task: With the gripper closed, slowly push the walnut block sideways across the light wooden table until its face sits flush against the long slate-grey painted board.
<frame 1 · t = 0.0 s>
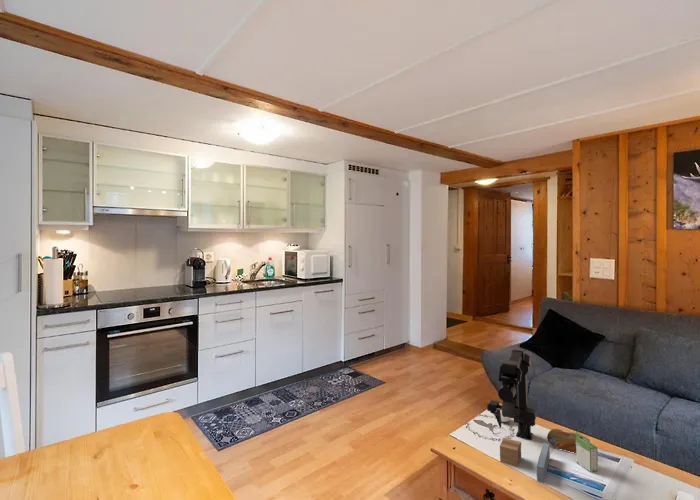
hand: (511, 430, 154), 15 cm above the table, tool pointing down, fingers open, 9 cm apart
tin: (566, 450, 163), on the table
ink box: (587, 467, 151), on the table
geometric ball: (502, 421, 192), on the table
slate board: (543, 468, 150), on the table
walnut block: (510, 459, 157), on the table
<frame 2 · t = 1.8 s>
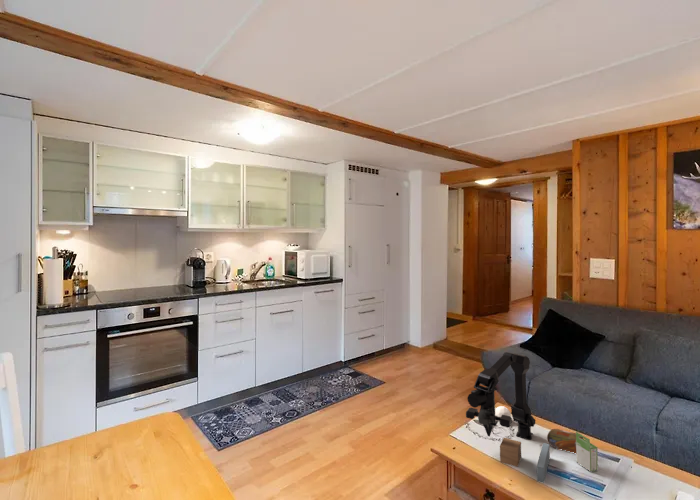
hand: (489, 436, 162), 8 cm above the table, tool pointing down, fingers closed
nothing on the table moved.
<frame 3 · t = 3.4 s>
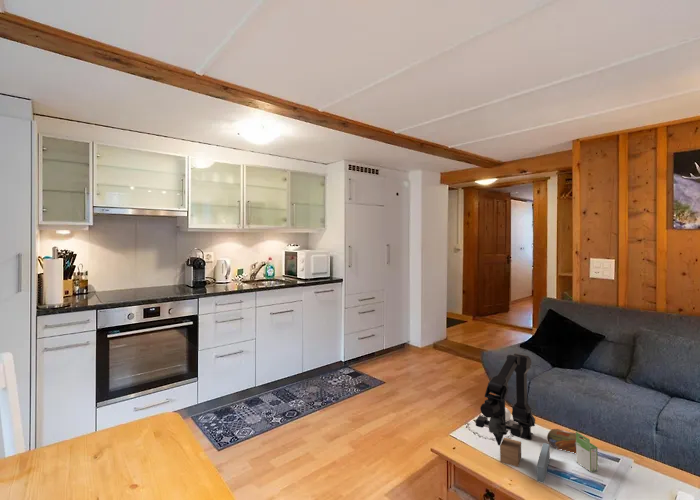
hand: (499, 445, 160), 5 cm above the table, tool pointing down, fingers closed
walnut block: (511, 459, 157), on the table, touching gripper
everything else where it was.
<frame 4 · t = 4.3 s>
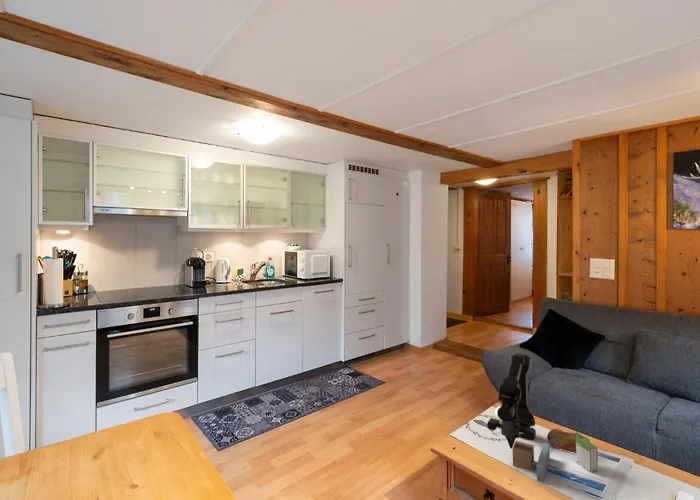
hand: (511, 448, 157), 5 cm above the table, tool pointing down, fingers closed
walnut block: (523, 463, 154), on the table, touching gripper
everything else where it was.
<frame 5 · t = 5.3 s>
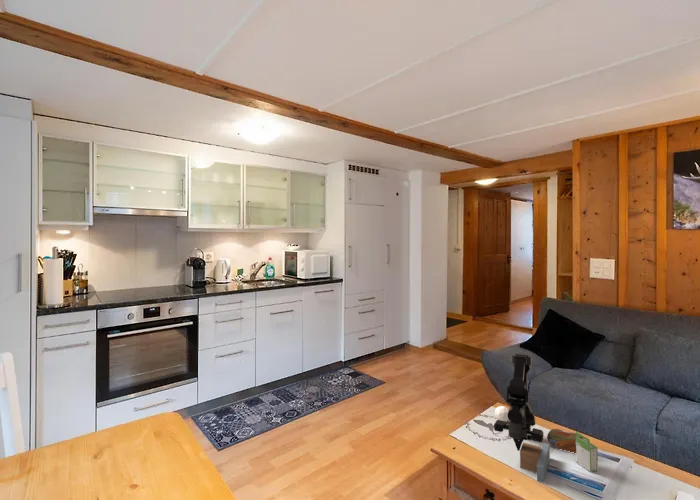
hand: (518, 450, 155), 5 cm above the table, tool pointing down, fingers closed
walnut block: (531, 465, 152), on the table, touching gripper, slate board
everything else where it was.
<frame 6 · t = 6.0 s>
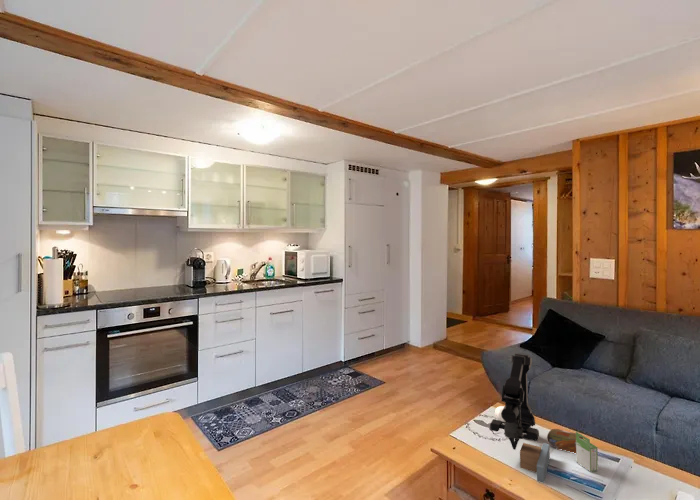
hand: (514, 449, 156), 5 cm above the table, tool pointing down, fingers closed
walnut block: (531, 465, 152), on the table
everything else where it was.
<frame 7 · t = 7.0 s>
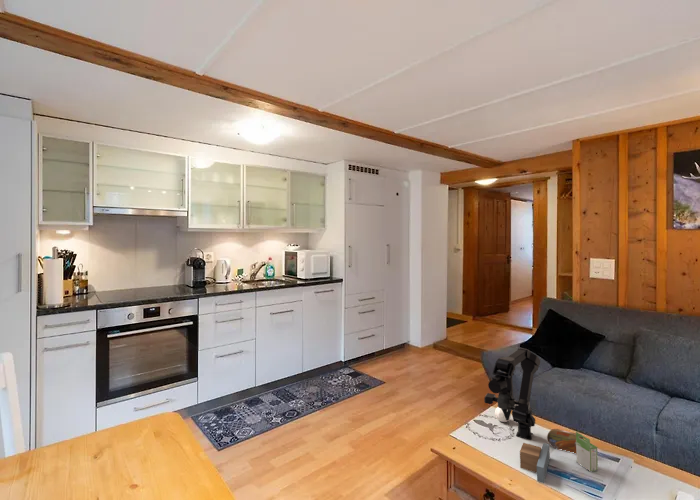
hand: (507, 420, 167), 13 cm above the table, tool pointing down, fingers closed
nothing on the table moved.
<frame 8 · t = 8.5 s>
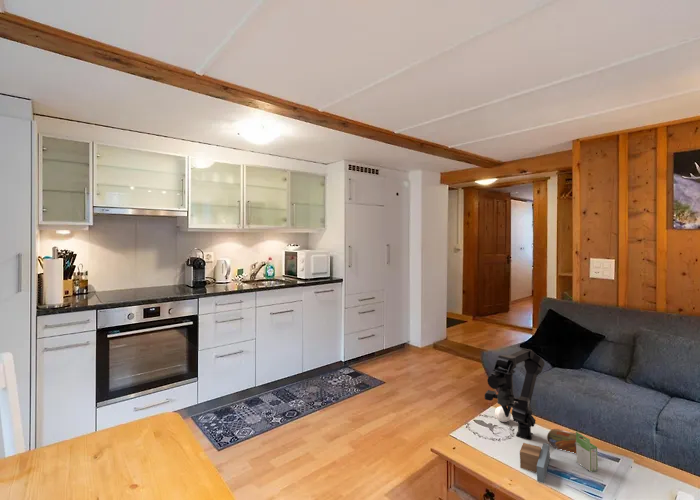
hand: (507, 416, 169), 13 cm above the table, tool pointing down, fingers closed
nothing on the table moved.
at the end: walnut block 0.5 cm from the target spot on the table beside the slate board, on the table; walnut block tilted 0° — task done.
